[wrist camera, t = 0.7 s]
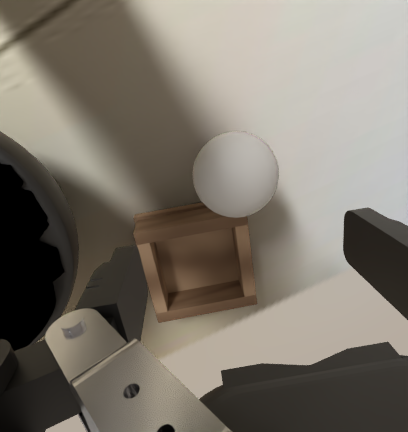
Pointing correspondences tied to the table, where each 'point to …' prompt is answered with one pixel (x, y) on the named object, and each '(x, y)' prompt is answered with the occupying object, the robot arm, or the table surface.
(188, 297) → the wooden tray
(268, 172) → the lightbulb
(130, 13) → the table surface
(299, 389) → the robot arm
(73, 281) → the coal bowl
